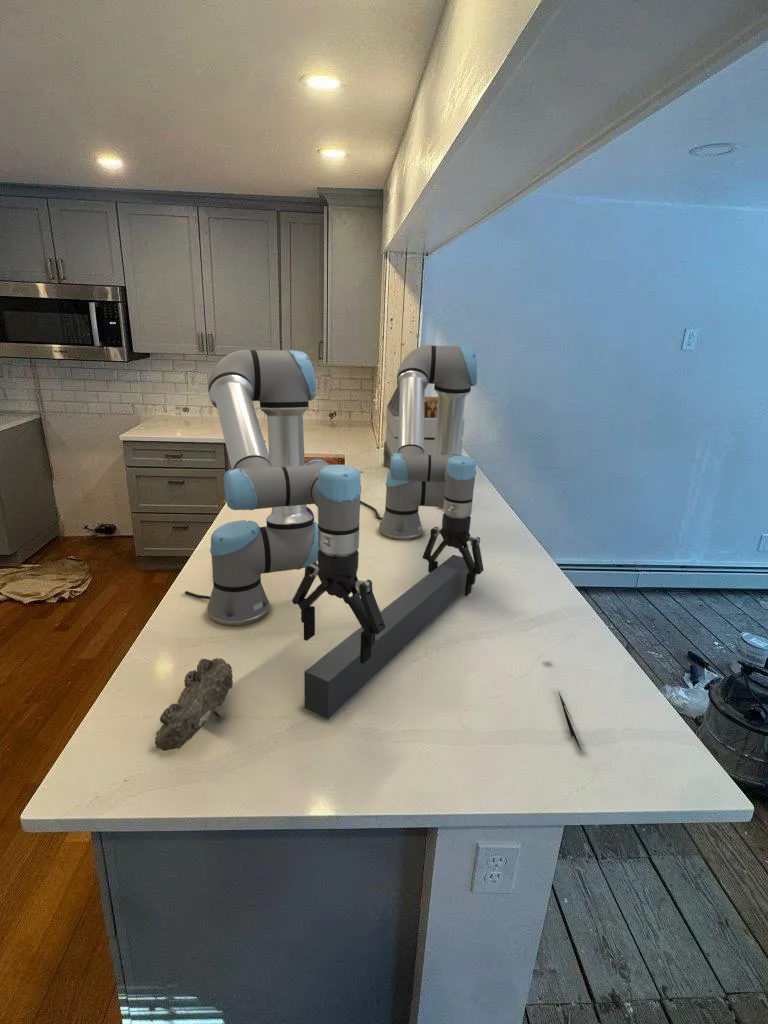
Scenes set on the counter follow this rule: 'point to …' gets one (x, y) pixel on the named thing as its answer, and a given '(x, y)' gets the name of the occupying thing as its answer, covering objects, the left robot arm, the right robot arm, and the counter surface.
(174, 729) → the fossil
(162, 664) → the counter surface
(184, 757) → the counter surface
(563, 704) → the feather
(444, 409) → the right robot arm
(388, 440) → the grey storage crate
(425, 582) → the bar
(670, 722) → the counter surface
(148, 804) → the counter surface
